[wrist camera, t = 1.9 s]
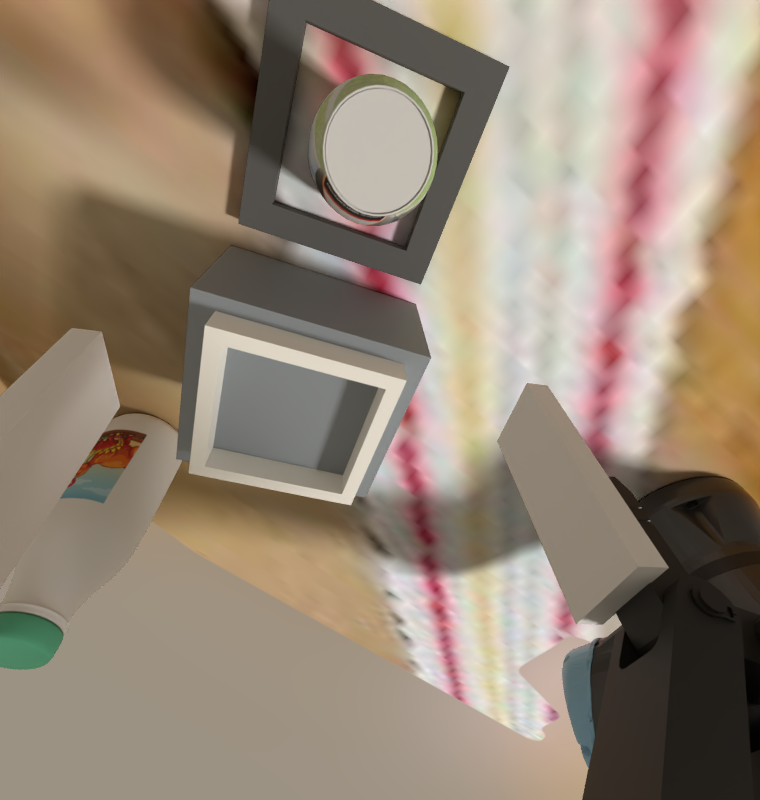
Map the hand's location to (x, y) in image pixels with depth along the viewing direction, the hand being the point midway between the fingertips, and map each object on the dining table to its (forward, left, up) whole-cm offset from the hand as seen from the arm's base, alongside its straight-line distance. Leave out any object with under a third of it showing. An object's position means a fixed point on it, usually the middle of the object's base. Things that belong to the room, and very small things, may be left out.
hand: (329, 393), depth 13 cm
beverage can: (+1, -5, -21) cm, 22 cm away
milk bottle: (+14, +26, -21) cm, 36 cm away
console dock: (+1, +11, -21) cm, 24 cm away
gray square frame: (+1, -5, -21) cm, 22 cm away
